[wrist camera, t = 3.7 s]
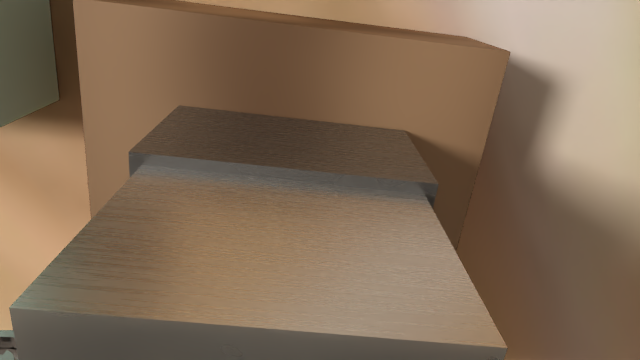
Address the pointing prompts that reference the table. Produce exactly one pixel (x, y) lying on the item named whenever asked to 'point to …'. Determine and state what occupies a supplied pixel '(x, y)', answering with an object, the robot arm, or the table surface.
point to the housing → (261, 253)
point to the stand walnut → (282, 83)
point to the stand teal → (26, 59)
